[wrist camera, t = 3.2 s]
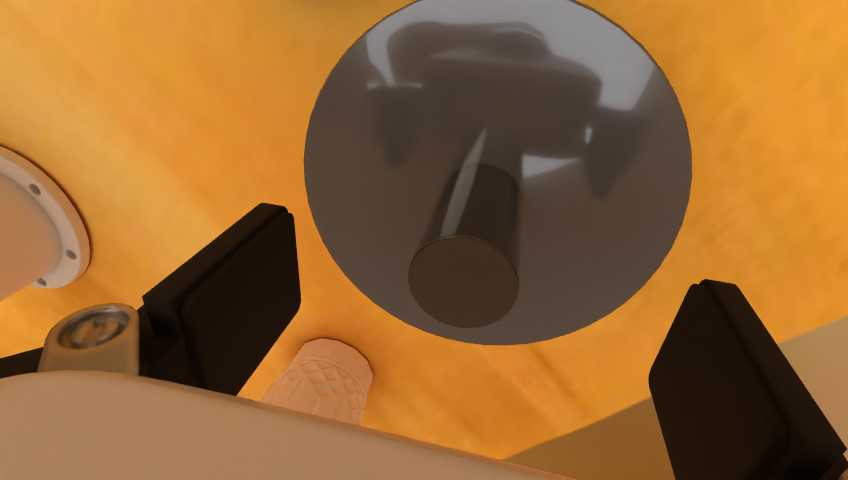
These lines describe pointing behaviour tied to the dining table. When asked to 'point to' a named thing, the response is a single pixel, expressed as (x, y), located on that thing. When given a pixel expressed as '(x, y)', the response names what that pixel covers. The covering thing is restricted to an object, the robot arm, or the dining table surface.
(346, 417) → the white cup
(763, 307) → the dining table surface
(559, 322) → the gray pot lid
